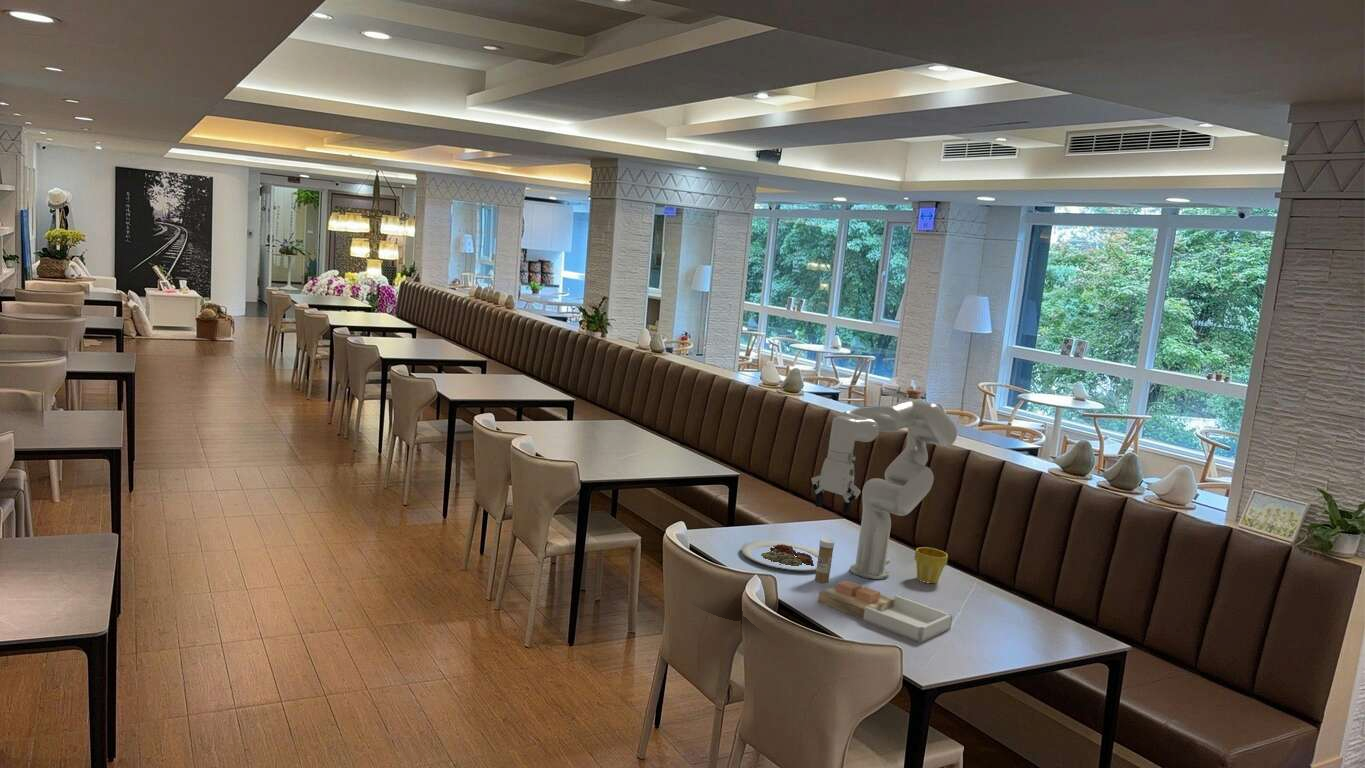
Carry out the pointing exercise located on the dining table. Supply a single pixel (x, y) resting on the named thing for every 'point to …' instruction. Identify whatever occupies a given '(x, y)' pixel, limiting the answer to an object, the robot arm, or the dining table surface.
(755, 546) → the plated food
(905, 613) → the box
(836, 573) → the dining table surface
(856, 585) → the rear tile
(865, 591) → the front tile
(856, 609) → the grooved oak block
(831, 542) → the sprinkles bottle
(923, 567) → the plant pot
